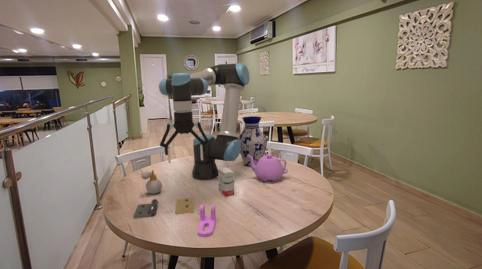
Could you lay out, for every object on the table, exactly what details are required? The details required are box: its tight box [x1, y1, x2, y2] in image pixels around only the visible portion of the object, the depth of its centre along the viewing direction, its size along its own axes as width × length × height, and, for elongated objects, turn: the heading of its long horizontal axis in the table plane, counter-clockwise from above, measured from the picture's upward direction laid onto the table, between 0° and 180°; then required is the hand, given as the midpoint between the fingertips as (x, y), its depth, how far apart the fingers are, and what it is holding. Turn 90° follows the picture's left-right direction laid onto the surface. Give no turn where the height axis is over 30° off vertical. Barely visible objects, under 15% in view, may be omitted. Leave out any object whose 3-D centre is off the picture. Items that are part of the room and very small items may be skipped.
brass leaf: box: [175, 197, 194, 215], centre depth 119 cm, size 7×10×3 cm
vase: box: [238, 116, 268, 167], centre depth 175 cm, size 19×19×30 cm
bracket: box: [197, 203, 217, 238], centre depth 103 cm, size 13×6×7 cm, turn 0°
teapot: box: [247, 153, 289, 183], centre depth 150 cm, size 22×16×14 cm
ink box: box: [217, 166, 235, 198], centre depth 133 cm, size 8×5×12 cm, turn 26°
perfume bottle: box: [141, 169, 163, 195], centre depth 134 cm, size 8×10×12 cm
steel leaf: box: [132, 199, 159, 219], centre depth 117 cm, size 8×10×3 cm
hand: (185, 160), depth 119 cm, fingers open, 13 cm apart
